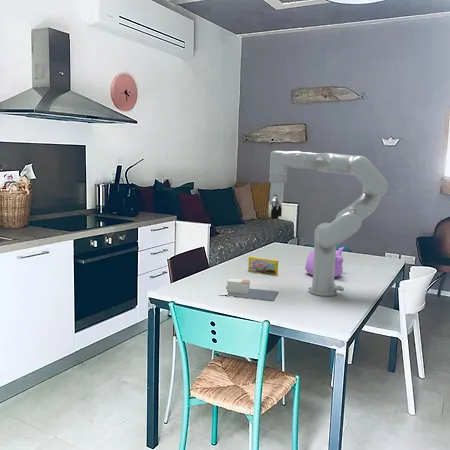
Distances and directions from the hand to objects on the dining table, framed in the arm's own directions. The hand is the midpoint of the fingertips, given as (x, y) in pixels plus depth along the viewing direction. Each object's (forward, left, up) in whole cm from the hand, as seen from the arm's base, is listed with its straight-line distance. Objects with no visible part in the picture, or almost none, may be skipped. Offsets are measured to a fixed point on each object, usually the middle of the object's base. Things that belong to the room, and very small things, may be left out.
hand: (276, 217), depth 206 cm
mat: (+9, +10, -33) cm, 36 cm away
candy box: (+10, -29, -34) cm, 46 cm away
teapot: (-21, -37, -34) cm, 54 cm away
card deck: (+14, +10, -33) cm, 37 cm away
